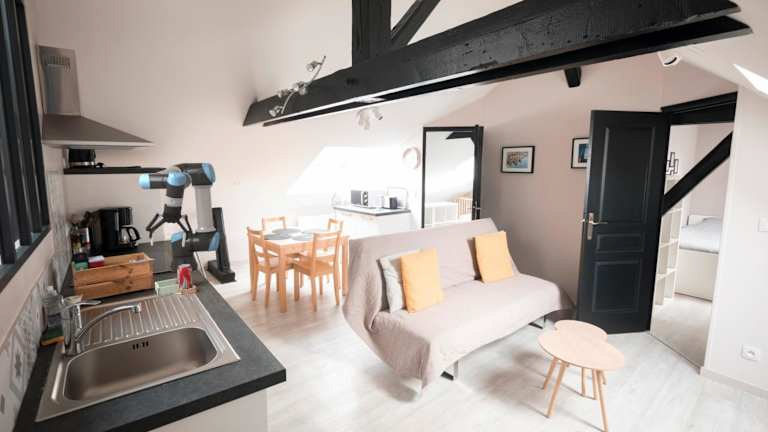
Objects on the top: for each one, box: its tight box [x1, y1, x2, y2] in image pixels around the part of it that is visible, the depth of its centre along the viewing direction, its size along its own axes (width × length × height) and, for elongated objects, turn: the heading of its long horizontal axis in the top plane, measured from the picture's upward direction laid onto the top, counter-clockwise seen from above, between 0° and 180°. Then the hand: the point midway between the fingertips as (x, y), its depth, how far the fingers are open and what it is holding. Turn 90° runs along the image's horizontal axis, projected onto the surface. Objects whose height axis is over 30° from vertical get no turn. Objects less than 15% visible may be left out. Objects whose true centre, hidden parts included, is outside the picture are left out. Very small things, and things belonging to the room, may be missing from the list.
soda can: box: [176, 264, 194, 289], centre depth 202 cm, size 7×7×12 cm
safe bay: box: [154, 278, 180, 297], centre depth 197 cm, size 10×12×4 cm
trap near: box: [179, 284, 198, 296], centre depth 195 cm, size 7×4×2 cm, turn 127°
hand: (167, 245), depth 189 cm, fingers open, 13 cm apart
